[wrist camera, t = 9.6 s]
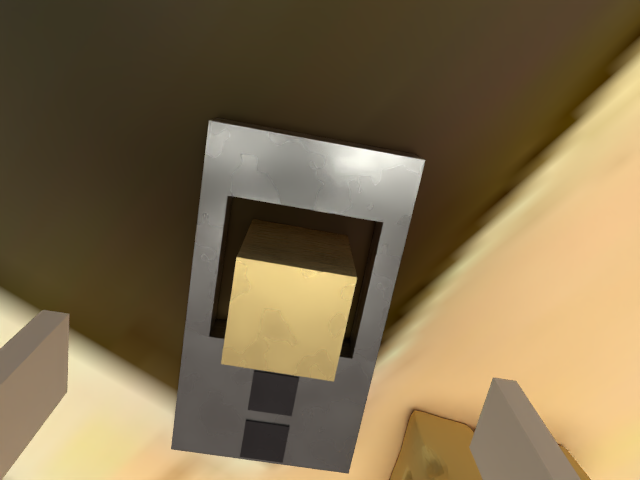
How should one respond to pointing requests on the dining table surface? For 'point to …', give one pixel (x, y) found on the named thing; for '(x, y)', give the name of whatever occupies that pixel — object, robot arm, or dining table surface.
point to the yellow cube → (289, 301)
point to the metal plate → (209, 333)
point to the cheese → (443, 451)
